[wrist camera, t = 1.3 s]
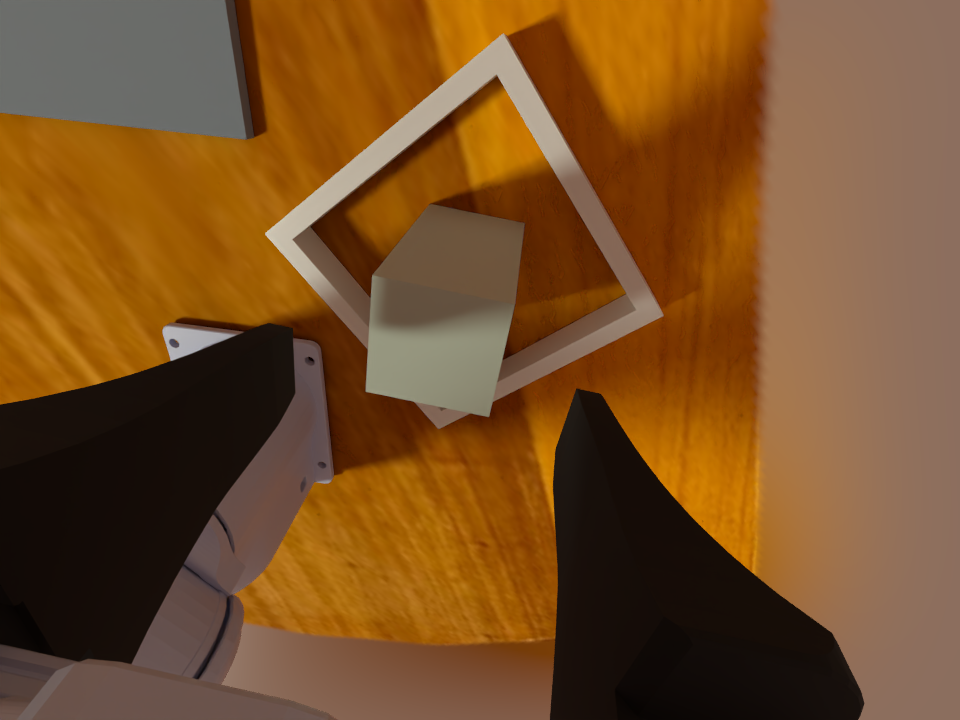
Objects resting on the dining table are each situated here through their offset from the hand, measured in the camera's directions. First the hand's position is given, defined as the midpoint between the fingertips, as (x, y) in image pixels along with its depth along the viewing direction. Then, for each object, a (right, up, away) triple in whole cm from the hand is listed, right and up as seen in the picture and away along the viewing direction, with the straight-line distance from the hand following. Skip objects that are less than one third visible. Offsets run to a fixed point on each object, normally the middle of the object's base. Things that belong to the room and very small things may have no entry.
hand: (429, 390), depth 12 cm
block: (+1, +5, +9) cm, 10 cm away
